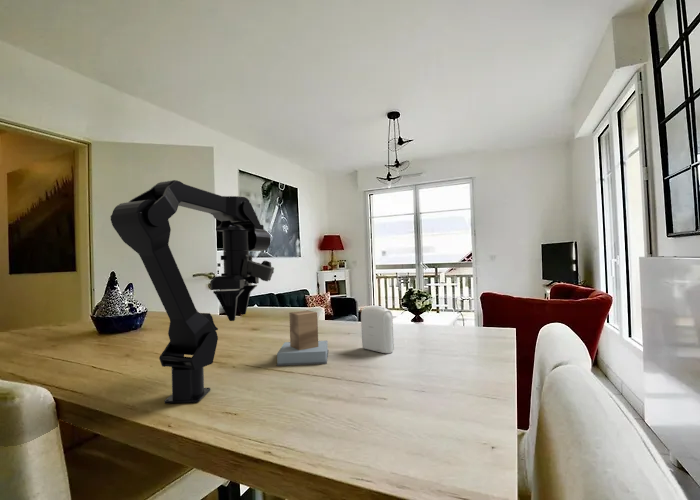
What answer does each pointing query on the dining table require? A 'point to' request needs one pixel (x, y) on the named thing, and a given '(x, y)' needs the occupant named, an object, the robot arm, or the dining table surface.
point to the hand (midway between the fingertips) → (238, 317)
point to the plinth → (302, 355)
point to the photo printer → (377, 329)
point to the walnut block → (303, 329)
